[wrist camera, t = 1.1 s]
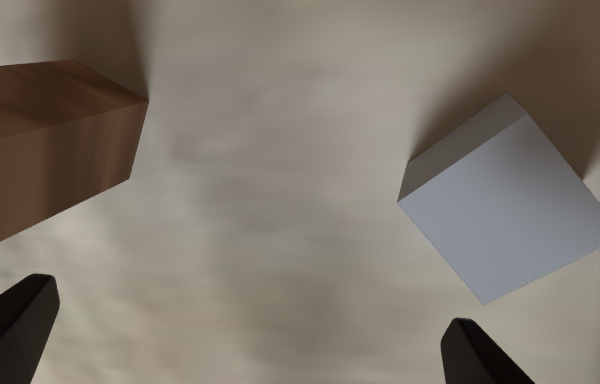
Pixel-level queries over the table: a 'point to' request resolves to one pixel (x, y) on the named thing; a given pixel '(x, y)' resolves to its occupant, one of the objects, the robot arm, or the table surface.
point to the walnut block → (61, 139)
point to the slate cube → (500, 201)
